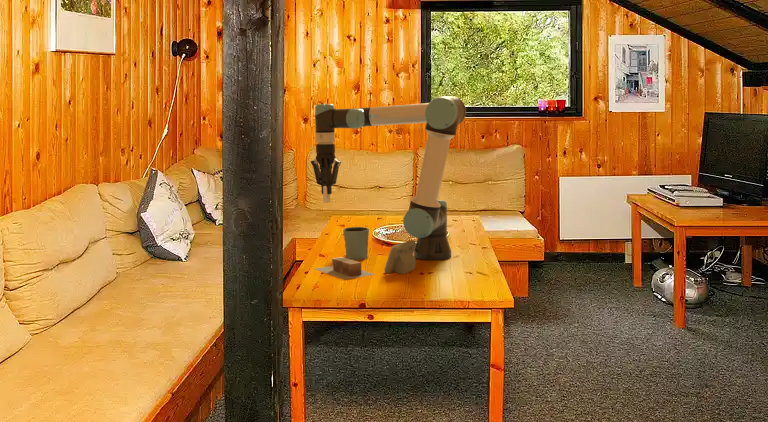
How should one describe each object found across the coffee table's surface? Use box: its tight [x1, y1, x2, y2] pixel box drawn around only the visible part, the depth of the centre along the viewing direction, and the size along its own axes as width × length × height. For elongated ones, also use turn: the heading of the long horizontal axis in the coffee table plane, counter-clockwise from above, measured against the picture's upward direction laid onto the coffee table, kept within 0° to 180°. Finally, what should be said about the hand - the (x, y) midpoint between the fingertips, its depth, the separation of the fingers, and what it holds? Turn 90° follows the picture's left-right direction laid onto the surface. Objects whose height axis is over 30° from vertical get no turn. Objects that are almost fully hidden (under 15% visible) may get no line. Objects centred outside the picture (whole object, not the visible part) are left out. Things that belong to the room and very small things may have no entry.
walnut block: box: [331, 256, 362, 277], centre depth 297 cm, size 4×4×13 cm
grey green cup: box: [342, 226, 370, 261], centre depth 323 cm, size 10×10×12 cm
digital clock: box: [384, 239, 417, 275], centre depth 300 cm, size 16×9×11 cm, turn 138°
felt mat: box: [314, 265, 376, 280], centre depth 299 cm, size 22×13×1 cm, turn 35°
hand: (326, 202), depth 324 cm, fingers closed
